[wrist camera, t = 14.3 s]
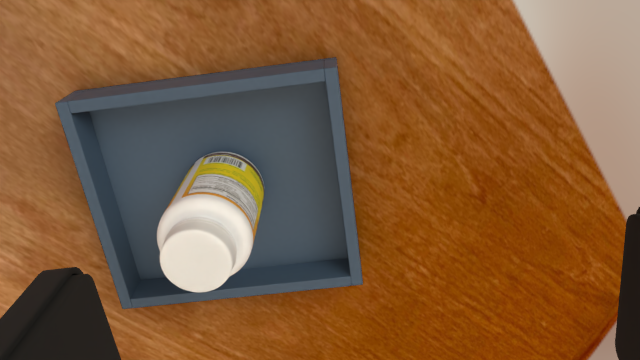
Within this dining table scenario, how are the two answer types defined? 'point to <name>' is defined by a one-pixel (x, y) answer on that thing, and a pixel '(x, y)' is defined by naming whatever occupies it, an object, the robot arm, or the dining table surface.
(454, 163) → the dining table surface
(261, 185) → the supplement bottle
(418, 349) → the dining table surface
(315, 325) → the dining table surface
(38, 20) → the dining table surface
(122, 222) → the tray
